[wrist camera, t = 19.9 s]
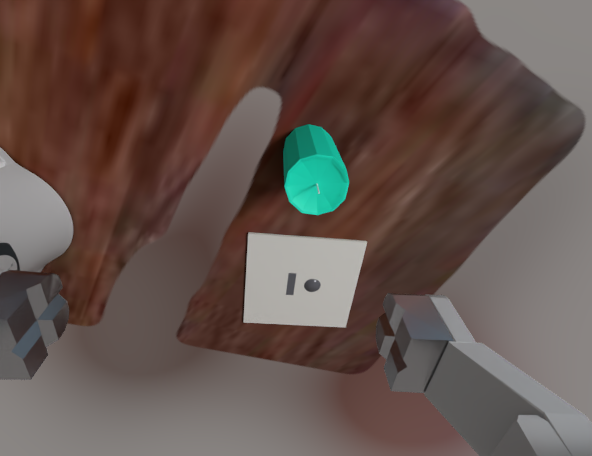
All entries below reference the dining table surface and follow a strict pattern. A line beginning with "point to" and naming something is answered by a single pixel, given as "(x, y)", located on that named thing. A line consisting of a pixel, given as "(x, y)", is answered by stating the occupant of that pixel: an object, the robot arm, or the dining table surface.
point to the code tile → (301, 279)
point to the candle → (313, 171)
